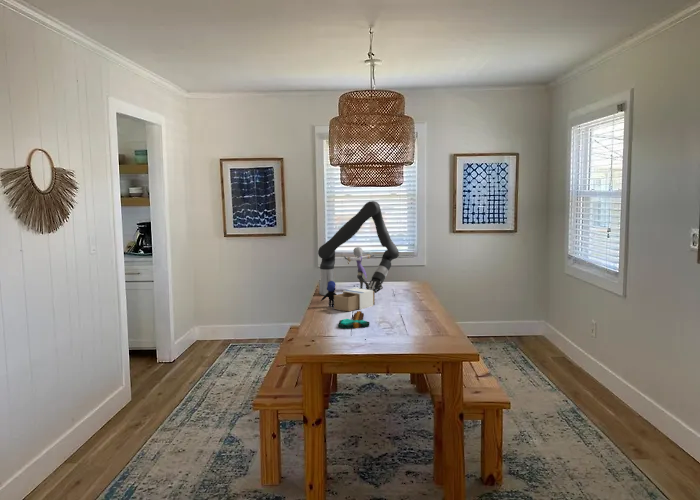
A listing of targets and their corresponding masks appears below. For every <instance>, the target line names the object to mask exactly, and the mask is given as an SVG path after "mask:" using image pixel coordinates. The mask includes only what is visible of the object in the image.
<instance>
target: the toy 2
mask: <svg viewBox="0 0 700 500" xmlns="http://www.w3.org/2000/svg"><path fill="white" fill-rule="evenodd" d="M364 316H365V313H364V312H362V311H361V310H358V311H356V312H355V313H354V314H353V316H352V319H350V318H343V319H341V320H339V321H338V324H337V327H338V328H340V329H351V328H353V329H358V328H366V327H367V328H368V327H370V321H367V320H364V318H365V317H364Z"/></svg>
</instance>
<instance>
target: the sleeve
mask: <svg viewBox="0 0 700 500" xmlns="http://www.w3.org/2000/svg"><path fill="white" fill-rule="evenodd" d="M342 293H353V294H359V309H358V311H361V310H364V309H367V308H368V309H369V308H371V307H374V305H373V290H367V289H365V288H363V289H360V287H353V288H348V289H345V290H342Z"/></svg>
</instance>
